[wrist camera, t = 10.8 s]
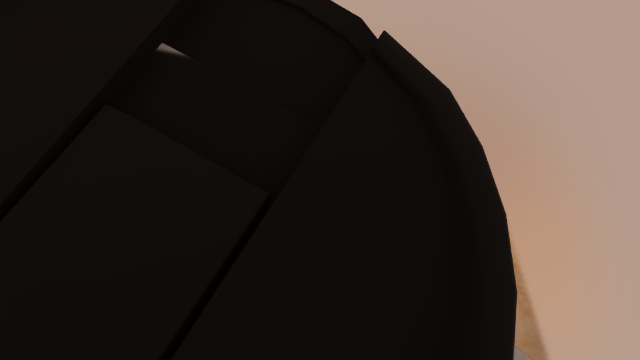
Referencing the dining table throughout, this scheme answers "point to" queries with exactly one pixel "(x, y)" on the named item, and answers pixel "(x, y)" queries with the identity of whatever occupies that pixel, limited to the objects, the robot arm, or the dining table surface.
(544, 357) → the dining table surface
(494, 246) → the travel mug
